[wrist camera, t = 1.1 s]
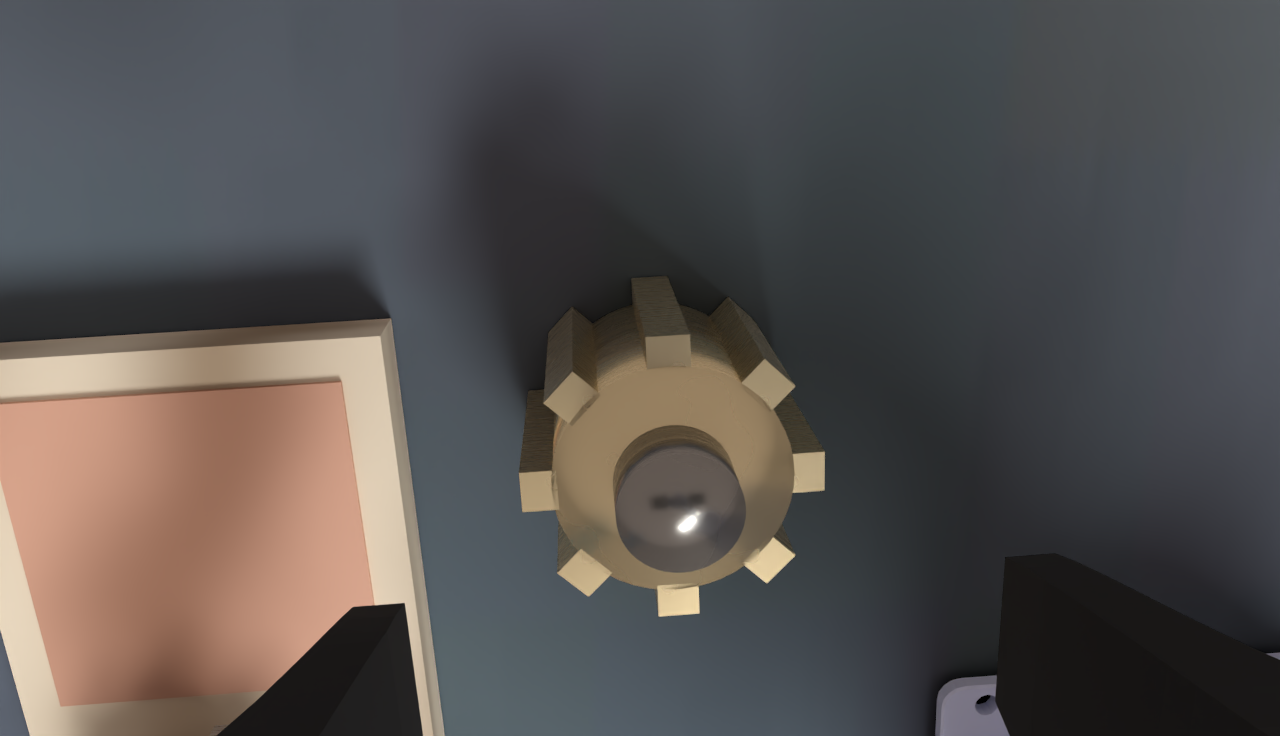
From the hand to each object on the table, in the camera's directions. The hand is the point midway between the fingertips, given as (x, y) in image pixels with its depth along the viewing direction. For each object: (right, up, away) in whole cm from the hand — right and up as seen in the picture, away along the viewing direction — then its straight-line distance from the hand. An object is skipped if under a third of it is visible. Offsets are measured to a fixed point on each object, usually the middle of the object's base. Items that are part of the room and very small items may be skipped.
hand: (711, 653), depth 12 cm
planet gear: (-1, +3, +8) cm, 9 cm away
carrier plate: (-9, -2, +9) cm, 13 cm away
